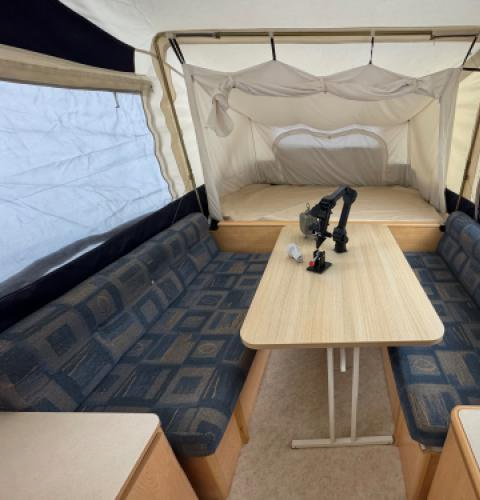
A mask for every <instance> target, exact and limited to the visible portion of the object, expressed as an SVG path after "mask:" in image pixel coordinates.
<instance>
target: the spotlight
mask: <svg viewBox="0 0 480 500" xmlns="http://www.w3.org/2000/svg"><path fill="white" fill-rule="evenodd" d="M300 250H301V247H300V246H299V245H298V244H297V243H294V242H293V243H289V244H288V245H287V247H286V248H285V253H286V255H287V256H288V257H290V258H293V259H294V260H295V262H297V263H302V262H303V261H304V259H305V256H304V255H303V254H302V252H301V251H300Z"/></svg>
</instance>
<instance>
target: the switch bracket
mask: <svg viewBox="0 0 480 500" xmlns="http://www.w3.org/2000/svg"><path fill="white" fill-rule="evenodd" d="M318 251H320V248H319V249H315V250H314V251H312V255H313V256H312V260H313V259H314V258H315V257H316V253H317V252H318ZM314 263H315V264H314V266H312V267H311V266H309V265H308V266H307V267H306V271H309V272H313V273H315V274H320V275H322V274H323V273H324V272H325V271H326V270H328V269H329V268H331V266H332V264H333V263H332V262H330V261H326V250H322V251H321V253H320V258H318V259H317V260H316V261H315V262H314Z"/></svg>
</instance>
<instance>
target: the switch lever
mask: <svg viewBox="0 0 480 500" xmlns="http://www.w3.org/2000/svg"><path fill="white" fill-rule="evenodd" d="M321 252H322V251H321V250H319V251H318V252H317V253H316V257H315V258H314V259H313V258H312V260H310V261H308V267H309V266H311V267H312V266H314V264H315V263H314V262H315V261H316V260H317V259H318V258H319V259H320V253H321Z"/></svg>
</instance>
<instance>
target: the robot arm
mask: <svg viewBox="0 0 480 500" xmlns="http://www.w3.org/2000/svg"><path fill="white" fill-rule="evenodd" d="M341 198H342V201H343V204H342V208H341V212H340V216H339V220H338V223H337V225H336V226H334V227H333V230H332V232H331V231H329V230H328V227H329V226H330V220H331V215H333V214H334V213H333V211H332V210H333V209H334V208H335V207H336V206H337V202H338V201H339V200H340V199H341ZM357 198H358V191H357V190H356V189H354V188H352V187H351V186H349V185H346V184H341V185H340V186H339V187H338V188H337V189H336V190H335V191H333V192H332V193H330V194H327V195H324V196H322V197H321V199H320V200H319V201H318V203H315V204H314V205H313V207H312V208H310V210H311V211H310V214H311V216H312V217H315V218H317V219H318V221H316V224H315V223H311V224H307V225H306V228H307V231H310V233H312V234H314V235H313V236H314V237H313V236H312V237H313V238H316V240H315V250H317V249H319V250H320V248H321V246H323V244H324V242H325V241H326V240H327V239H332V242H334V248H333V250H334V251H335V252H336V253H338V254H342V253H346V252H348V250H347V244H348V243H349V241H350V237H349V236H348V232H347V224H348V221H349V216H350V212H351V208H352V205H353V204H354V203H355V202H356V200H357Z"/></svg>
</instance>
